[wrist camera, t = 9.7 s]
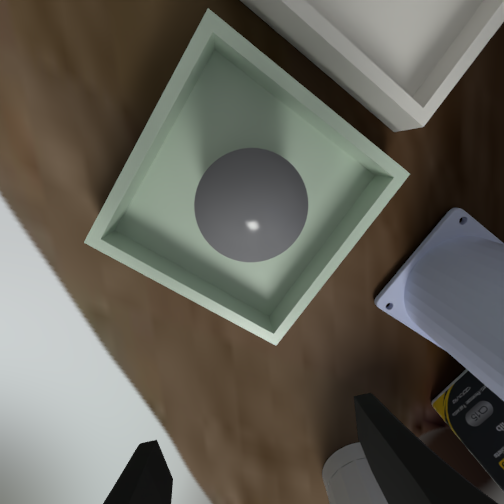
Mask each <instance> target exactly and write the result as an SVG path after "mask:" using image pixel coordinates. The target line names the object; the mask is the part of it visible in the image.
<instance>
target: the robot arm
mask: <svg viewBox="0 0 504 504" xmlns="http://www.w3.org/2000/svg"><path fill="white" fill-rule="evenodd" d="M460 218H462V221H461V222H460V223H459V220H460ZM388 303H390V305H389V306H388V307H386V305H387V304H388ZM375 305H376V306H377V307H378V308H380V309H381V310H383V311H384V312H386V313H387V314H389V315H391V316H392V317H394V318H395V319H397V320H398V321H400V322H401V323H403V324H405V325H406V326H408V327H409V328H411V329H412V330H414V331H415V332H417V333H419V334H420V335H422V336H423V337H425V338H426V339H428V340H430V341H431V342H433V343H434V344H436V345H437V346H439V347H440V348H442V349H444V350H445V351H447V352H448V353H449V354H450V355H451V356H452V357H454V358H455V359H456V360H457V361H458V362H459V363H460V364H462V365H463V366H464V367H465V368H466V369H467V370H468V371H470V372H471V373H472V374H473V375H474V376H475V377H476V378H478V379H479V380H480V381H481V382H482V383H483V384H484V385H486V386H487V387H488V388H489V389H490V390H491V391H492V392H494V393H495V394H496V395H497V396H498V397H499V398H500V399H502V400H503V401H504V243H503V242H502V241H500V240H499V239H498V238H497V237H496V236H494V235H493V234H492V233H491V232H490V231H488V230H487V229H486V228H485V227H483V226H482V225H481V224H480V223H479V222H477V221H476V220H475V219H474V218H473V217H471V216H470V215H469V214H468V213H467V212H465V211H464V210H463V209H461V208H452V209H450V210H449V211H448V212H447V214H446V215H445V216H444V217H443V218H442V219H441V221H440V222H439V223H438V224H437V225H436V227H435V228H434V229H433V230H432V231H431V233H430V234H429V235H428V236H427V237H426V239H425V240H424V241H423V242H422V243H421V244H420V246H419V247H418V248H417V249H416V250H415V252H414V253H413V254H412V255H411V256H410V258H409V259H408V260H407V261H406V262H405V263H404V265H403V266H402V267H401V268H400V269H399V271H398V272H397V273H396V274H395V275H394V277H393V278H392V279H391V280H390V281H389V282H388V284H387V285H386V286H385V287H384V288H383V290H382V291H381V292H380V293H379V294H378V296H377V297H376V298H375ZM354 402H355V412H356V421H357V431H358V439H359V441H360V444H361V446H362V449H363V451H364V454H365V456H366V459H367V461H368V464H369V466H370V468H371V471H372V473H373V475H374V477H375V479H376V481H377V483H378V485H379V487H380V489H381V491H382V493H383V495H384V497H385V499H386V501H387V502H388V504H498V503H496V502H495V501H494V500H492V499H491V498H490V497H488V496H487V495H486V494H484V493H483V492H482V491H481V490H479V489H478V488H477V487H475V486H474V485H473V484H472V483H470V482H469V481H468V480H467V479H465V478H464V477H463V476H462V475H460V474H459V473H458V472H457V471H456V470H454V469H453V468H452V467H451V466H449V465H448V464H447V463H446V462H445V461H443V460H442V459H441V458H440V457H439V456H438V455H436V454H435V453H434V452H433V451H432V450H431V449H430V448H428V447H427V446H426V445H425V444H424V443H423V442H422V441H421V440H420V439H418V438H417V437H416V436H415V435H414V434H413V433H412V432H411V431H410V430H409V429H408V428H406V427H405V426H404V425H403V424H402V423H401V422H400V421H399V420H398V419H397V418H396V417H395V416H394V415H393V414H392V413H391V412H390V411H389V410H388V409H387V408H386V407H385V406H384V405H383V404H382V403H381V402H380V401H379V400H378V399H377V398H376V397H375V396H374V395H373V394H371V393H368V394H363V395H358V396H354ZM172 485H173V478H172V476H171V473H170V471H169V469H168V466H167V464H166V461H165V459H164V456H163V454H162V452H161V449H160V447H159V444H158V442H157V440H155V441H150V442H145V443H141V444H139V446H138V447H137V449H136V450H135V452H134V454H133V456H132V457H131V459H130V461H129V462H128V464H127V466H126V467H125V469H124V471H123V472H122V474H121V475H120V477H119V479H118V480H117V482H116V484H115V485H114V487H113V489H112V490H111V492H110V494H109V495H108V497H107V498H106V500H105V501H104V503H103V504H171V497H172Z"/></svg>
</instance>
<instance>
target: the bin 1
mask: <svg viewBox="0 0 504 504" xmlns="http://www.w3.org/2000/svg"><path fill="white" fill-rule="evenodd" d="M243 148H260V149H266V150H269V151H272V152H274V153H276V154H278V155H280V156H282V157H283V158H285V159H286V160H287V161H289V162H290V163H291V164H292V165H293V166H294V167H295V169H296V170H297V171H298V173H299V174H300V176H301V177H302V180H303V182H304V184H305V187H306V190H307V195H308V214H307V219H306V222H305V225H304V228H303V230H302V232H301V234H300V235H299V237H298V238H297V240H296V241H295V242H294V243H293V244H292V245H291V246H290V247H289V248H288V249H287V250H286V251H284V252H283V253H281V254H280V255H278V256H276V257H274V258H271V259H269V260H265V261H261V262H241V261H237V260H233V259H230V258H228V257H226V256H224V255H222V254H220V253H219V252H218V251H216V250H215V249H214V248H213V247H212V246H211V245H209V243H208V242H207V241H206V240H205V238H204V237H203V235H202V234H201V232H200V229H199V227H198V225H197V221H196V218H195V212H194V201H195V194H196V190H197V187H198V184H199V181H200V180H201V178H202V176H203V174H204V173H205V171H206V170H207V169H208V168H209V167H210V166H211V165H212V163H213V162H215V161H216V160H217V159H219V158H220V157H222V156H223V155H225V154H227V153H229V152H232V151H234V150H238V149H243ZM409 175H410V173H408V172H407V171H406V170H405V169H404V168H402V167H401V166H400V165H399V164H397V163H396V162H395V161H394V160H393V159H391V158H390V157H389V156H388V155H386V154H385V153H384V152H383V151H382V150H380V149H379V148H378V147H377V146H376V145H374V144H373V143H372V142H371V141H369V140H368V139H367V138H366V137H365V136H363V135H362V134H361V133H360V132H358V131H357V130H356V129H355V128H354V127H352V126H351V125H350V124H349V123H348V122H346V121H345V120H344V119H343V118H341V117H340V116H339V115H338V114H337V113H335V112H334V111H333V110H332V109H330V108H329V107H328V106H327V105H326V104H324V103H323V102H322V101H321V100H319V99H318V98H317V97H316V96H315V95H313V94H312V93H311V92H310V91H309V90H307V89H306V88H305V87H304V86H302V85H301V84H300V83H299V82H298V81H296V80H295V79H294V78H293V77H291V76H290V75H289V74H288V73H287V72H285V71H284V70H283V69H282V68H281V67H279V66H278V65H277V64H276V63H274V62H273V61H272V60H271V59H270V58H268V57H267V56H266V55H265V54H263V53H262V52H261V51H260V50H259V49H257V48H256V47H255V46H254V45H252V44H251V43H250V42H249V41H248V40H246V39H245V38H244V37H243V36H242V35H240V34H239V33H238V32H237V31H235V30H234V29H233V28H232V27H231V26H229V25H228V24H227V23H226V22H224V21H223V20H222V19H221V18H220V17H218V16H217V15H216V14H215V13H214V12H212V11H211V10H210V9H209V8H208V9H207V11H206V13H205V15H204V16H203V18H202V20H201V22H200V24H199V26H198V28H197V30H196V32H195V33H194V35H193V37H192V39H191V41H190V43H189V45H188V47H187V49H186V50H185V52H184V54H183V56H182V58H181V60H180V62H179V64H178V66H177V68H176V69H175V71H174V73H173V75H172V77H171V79H170V81H169V83H168V85H167V86H166V88H165V90H164V92H163V94H162V96H161V98H160V100H159V102H158V103H157V105H156V107H155V109H154V111H153V113H152V115H151V117H150V119H149V120H148V122H147V124H146V126H145V128H144V130H143V132H142V134H141V136H140V137H139V139H138V141H137V143H136V145H135V147H134V149H133V151H132V153H131V154H130V156H129V158H128V160H127V162H126V164H125V166H124V168H123V170H122V171H121V173H120V175H119V177H118V179H117V181H116V183H115V185H114V187H113V188H112V190H111V192H110V194H109V196H108V198H107V200H106V202H105V204H104V206H103V207H102V209H101V211H100V213H99V215H98V217H97V219H96V221H95V223H94V224H93V226H92V228H91V230H90V232H89V234H88V236H87V238H86V240H85V241H84V243H86V244H88V245H89V246H91V247H93V248H95V249H97V250H99V251H101V252H102V253H104V254H106V255H108V256H110V257H112V258H114V259H115V260H117V261H119V262H121V263H123V264H125V265H127V266H129V267H130V268H132V269H134V270H136V271H138V272H140V273H142V274H143V275H145V276H147V277H149V278H151V279H153V280H155V281H156V282H158V283H160V284H162V285H164V286H166V287H168V288H169V289H171V290H173V291H175V292H177V293H179V294H181V295H183V296H184V297H186V298H188V299H190V300H192V301H194V302H196V303H197V304H199V305H201V306H203V307H205V308H207V309H209V310H210V311H212V312H214V313H216V314H218V315H220V316H222V317H224V318H225V319H227V320H229V321H231V322H233V323H235V324H237V325H238V326H240V327H242V328H244V329H246V330H248V331H250V332H251V333H253V334H255V335H257V336H259V337H261V338H263V339H264V340H266V341H268V342H270V343H272V344H274V345H277V344H278V343H279V341H280V340H281V339H282V338H283V336H284V335H285V334H286V332H287V331H288V330H289V329H290V327H291V326H292V325H293V323H294V322H295V321H296V320H297V318H298V317H299V316H300V314H301V313H302V312H303V311H304V309H305V308H306V307H307V305H308V304H309V303H310V302H311V300H312V299H313V298H314V297H315V295H316V294H317V293H318V291H319V290H320V289H321V288H322V286H323V285H324V284H325V282H326V281H327V280H328V279H329V277H330V276H331V275H332V273H333V272H334V271H335V270H336V268H337V267H338V266H339V265H340V263H341V262H342V261H343V259H344V258H345V257H346V256H347V254H348V253H349V252H350V250H351V249H352V248H353V247H354V245H355V244H356V243H357V241H358V240H359V239H360V238H361V236H362V235H363V234H364V232H365V231H366V230H367V229H368V227H369V226H370V225H371V224H372V222H373V221H374V220H375V218H376V217H377V216H378V215H379V213H380V212H381V211H382V209H383V208H384V207H385V206H386V204H387V203H388V202H389V200H390V199H391V198H392V197H393V195H394V194H395V193H396V192H397V190H398V189H399V188H400V186H401V185H402V184H403V183H404V181H405V180H406V179H407V177H408V176H409Z"/></svg>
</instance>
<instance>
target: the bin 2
mask: <svg viewBox="0 0 504 504" xmlns="http://www.w3.org/2000/svg"><path fill="white" fill-rule="evenodd" d="M240 1H241V2H242V3H243V4H245V5H246V6H247V7H248V8H249V9H250V10H252V11H253V12H254V13H255V14H256V15H257V16H259V17H260V18H261V19H262V20H263V21H264V22H266V23H267V24H268V25H269V26H270V27H272V28H273V29H274V30H275V31H276V32H277V33H279V34H280V35H281V36H282V37H283V38H284V39H286V40H287V41H288V42H289V43H290V44H291V45H293V46H294V47H295V48H296V49H297V50H298V51H300V52H301V53H302V54H303V55H304V56H305V57H307V58H308V59H309V60H310V61H311V62H313V63H314V64H315V65H316V66H317V67H318V68H320V69H321V70H322V71H323V72H324V73H325V74H327V75H328V76H329V77H330V78H331V79H332V80H334V81H335V82H336V83H337V84H338V85H339V86H341V87H342V88H343V89H344V90H345V91H346V92H348V93H349V94H350V95H351V96H352V97H354V98H355V99H356V100H357V101H358V102H359V103H361V104H362V105H363V106H364V107H365V108H366V109H368V110H369V111H370V112H371V113H372V114H373V115H375V116H376V117H377V118H378V119H379V120H380V121H382V122H383V123H384V124H385V125H386V126H387V127H389V128H390V129H391V130H392V131H393V132H398V131H403V130H409V129H415V128H421V127H424V126H425V124H426V123H427V122H428V120H429V119H430V118H431V116H432V115H433V114H434V112H435V111H436V110H437V109H438V107H439V106H440V105H441V103H442V102H443V101H444V99H445V98H446V97H447V95H448V94H449V93H450V91H451V90H452V89H453V87H454V86H455V85H456V84H457V82H458V81H459V80H460V78H461V77H462V76H463V74H464V73H465V72H466V70H467V69H468V68H469V66H470V65H471V64H472V63H473V61H474V60H475V59H476V57H477V56H478V55H479V53H480V52H481V51H482V49H483V48H484V47H485V45H486V44H487V43H488V42H489V40H490V39H491V38H492V36H493V35H494V34H495V32H496V31H497V30H498V28H499V27H500V26H501V24H502V23H503V22H504V0H240Z"/></svg>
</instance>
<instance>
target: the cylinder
mask: <svg viewBox="0 0 504 504" xmlns="http://www.w3.org/2000/svg"><path fill="white" fill-rule="evenodd" d="M194 212H195V218H196V221H197V225H198V227H199V229H200V232H201V234H202V235H203V237H204V238H205V240H206V241H207V242H208V243H209V245H211V246H212V247H213V248H214V249H215V250H216V251H218V252H219V253H220V254H222V255H224V256H226V257H228V258H230V259H233V260H237V261H241V262H261V261H265V260H269V259H271V258H274V257H276V256H278V255H280V254H281V253H283V252H284V251H286V250H287V249H288V248H289V247H290V246H291V245H292V244H293V243H294V242H295V241H296V240H297V238H298V237H299V235H300V234H301V232H302V230H303V228H304V225H305V222H306V219H307V214H308V195H307V190H306V187H305V184H304V182H303V180H302V177H301V176H300V174H299V173H298V171H297V170H296V169H295V167H294V166H293V165H292V164H291V163H290V162H289V161H287V160H286V159H285V158H283V157H282V156H280V155H278V154H276V153H274V152H272V151H269V150H266V149H260V148H243V149H238V150H234V151H232V152H229V153H227V154H225V155H223V156H222V157H220V158H219V159H217V160H216V161H215V162H213V163H212V165H211V166H210V167H209V168H208V169H207V170H206V171H205V173H204V174H203V176H202V178H201V180H200V181H199V184H198V187H197V190H196V194H195V201H194Z"/></svg>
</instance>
